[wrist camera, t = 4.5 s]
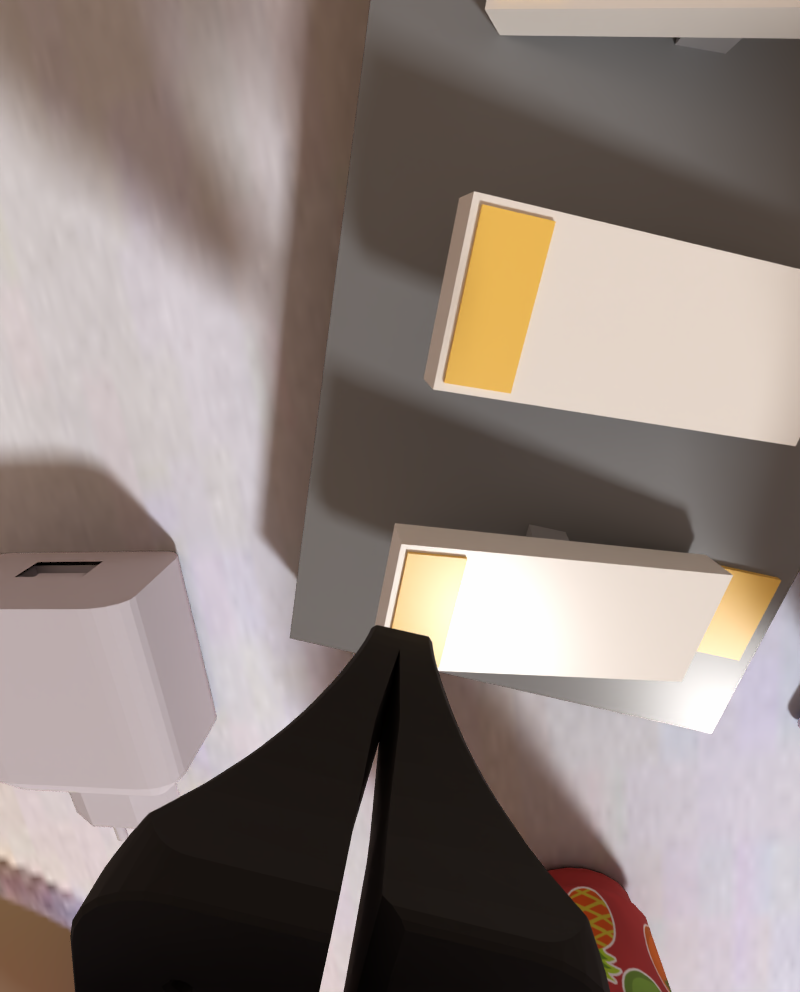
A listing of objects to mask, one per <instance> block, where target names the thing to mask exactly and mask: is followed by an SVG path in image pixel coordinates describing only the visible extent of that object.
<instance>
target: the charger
mask: <svg viewBox="0 0 800 992" xmlns="http://www.w3.org/2000/svg"><path fill="white" fill-rule="evenodd" d="M84 561H103V562H101V563H100V564H99V565H54V566H33V565H34V564H36V563H37V562H84ZM31 566H33V567H32V568H30V569H29V570H27V571H26V572H24V573H22V572H23V571H25V570H26V569H28V568H29V567H31ZM20 573H22V574H21V575H19V576H18V577H15V576H17V575H18V574H20ZM216 718H217V715H216V711H215V707H214V703H213V699H212V695H211V691H210V687H209V682H208V678H207V674H206V670H205V666H204V662H203V658H202V654H201V649H200V645H199V641H198V637H197V633H196V629H195V625H194V621H193V617H192V612H191V608H190V604H189V600H188V596H187V592H186V588H185V584H184V579H183V575H182V571H181V567H180V563H179V559H178V555H177V554H176V553H174V552H171V551H132V552H49V553H5V554H0V782H2V783H5V784H8V785H11V786H14V787H17V788H20V789H23V790H35V791H55V792H69V793H70V795H71V798H72V801H73V803H74V806H75V808H76V811H77V813H79V814H80V815H81V816H82V817H83V818H84V819H85V820H87V821H88V822H89V823H90V824H91V825H92V826H98V827H113V828H114V830H115V833H116V836H117V839H118V840H119V841H124V840H125V839H126V838H127V837H128V833H127V830H126V828H132V829H135V828H136V827H137V826H138V825H139V824H140V822H141V821H142V820H143V819H144V818H145V817H146V816H147V815H148V813H150V812H152V811H154V810H156V809H158V808H160V807H162V806H164V805H166V804H167V803H169V802H171V801H173V800H175V799H177V798H179V797H180V794H179V790H178V787H177V783H176V782H178V781H179V780H180V779H181V778H182V777H183V776H184V775H185V773H186V772H187V770H188V768H189V766H190V765H191V763H192V761H193V760H194V758H195V756H196V754H197V753H198V751H199V749H200V747H201V746H202V744H203V742H204V740H205V739H206V737H207V735H208V734H209V732H210V730H211V728H212V727H213V725H214V723H215V721H216Z"/></svg>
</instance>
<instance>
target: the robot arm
mask: <svg viewBox="0 0 800 992" xmlns="http://www.w3.org/2000/svg"><path fill="white" fill-rule="evenodd" d="M798 726H799V728H800V718H799V720H798ZM378 743H379V748H378V758H377V769H376V779H375V790H374V800H373V811H372V822H371V833H370V842H369V850H368V858H367V865H366V870H365V876H364V881H363V887H362V893H361V898H360V904H359V909H358V915H357V921H356V926H355V932H354V937H353V943H352V948H351V954H350V959H349V965H348V970H347V976H346V981H345V987H344V992H610V988H609V984H608V980H607V975H606V972H605V969H604V965H603V962H602V959H601V956H600V953H599V949H598V946H597V943H596V940H595V937H594V934H593V931H592V928H591V925H590V922H589V919H588V918H587V916H586V915H585V914H584V913H583V911H582V910H581V909H580V908H579V907H578V906H577V905H576V903H575V902H574V901H573V900H572V899H571V898H570V897H569V895H568V894H567V893H566V892H565V891H564V890H563V888H562V887H561V886H560V885H559V884H558V883H557V882H556V880H555V879H554V878H553V877H552V876H551V875H550V873H549V872H548V871H547V870H546V869H545V868H544V866H543V865H542V864H541V863H540V861H539V860H538V859H537V857H536V856H535V855H534V853H533V852H532V851H531V849H530V848H529V847H528V846H527V844H526V843H525V841H524V840H523V838H522V837H521V836H520V834H519V833H518V831H517V830H516V828H515V827H514V825H513V824H512V822H511V821H510V819H509V818H508V816H507V815H506V813H505V812H504V810H503V809H502V807H501V806H500V804H499V803H498V801H497V800H496V798H495V796H494V795H493V793H492V791H491V790H490V788H489V786H488V784H487V783H486V781H485V779H484V778H483V776H482V774H481V772H480V770H479V768H478V767H477V765H476V763H475V761H474V759H473V757H472V755H471V753H470V751H469V749H468V747H467V745H466V743H465V741H464V738H463V736H462V734H461V732H460V729H459V727H458V725H457V722H456V720H455V718H454V715H453V713H452V710H451V707H450V705H449V702H448V699H447V696H446V693H445V691H444V688H443V685H442V682H441V678H440V675H439V671H438V668H437V664H436V660H435V656H434V651H433V644H432V641H431V639H430V638H429V636H425V635H420V634H416V633H411V632H407V631H402V630H398V629H393V628H389V627H384V626H380V625H376V626H374V627H372V628H371V630H370V632H369V634H368V636H367V637H366V639H365V641H364V642H363V644H362V645H361V647H360V648H359V650H358V651H357V652H356V654H355V655H354V657H353V658H352V659H351V661H350V662H349V663H348V664H347V665H346V667H345V668H344V669H343V670H342V671H341V673H340V674H339V675H338V676H337V678H336V679H335V680H334V681H333V682H332V683H331V684H330V685H329V686H328V687H327V688H326V689H325V690H324V691H323V693H322V694H321V695H320V696H319V697H318V698H317V699H316V700H315V701H314V702H313V703H312V704H311V705H310V706H309V707H308V708H307V709H306V710H304V711H303V712H302V713H301V714H300V715H299V716H298V717H297V718H296V719H294V720H293V721H292V722H291V723H290V724H289V725H288V726H286V727H285V728H284V729H283V730H282V731H280V732H279V733H278V734H276V735H275V736H274V737H273V738H271V739H270V740H269V741H267V742H266V743H265V744H264V745H262V746H261V747H260V748H258V749H257V750H255V751H254V752H253V753H251V754H250V755H248V756H247V757H246V758H244V759H243V760H241V761H239V762H238V763H236V764H235V765H233V766H232V767H230V768H228V769H227V770H225V771H224V772H222V773H221V774H219V775H218V776H216V777H214V778H213V779H211V780H210V781H208V782H206V783H205V784H203V785H201V786H199V787H198V788H196V789H194V790H192V791H190V792H188V793H186V794H184V795H183V796H181V797H179V798H177V799H175V800H173V801H171V802H169V803H167V804H166V805H164V806H162V807H160V808H158V809H156V810H154V811H152V812H150V813H148V815H147V816H146V817H145V818H144V819H143V820H142V821H141V822H140V824H139V825H138V826H137V827H136V828H135V829H134V831H133V832H132V833H131V834H130V835H129V837H128V838H127V839H126V840H125V842H124V843H123V844H122V846H121V847H120V848H119V849H118V851H117V852H116V853H115V854H114V856H113V857H112V858H111V860H110V861H109V863H108V864H107V865H106V867H105V868H104V870H103V871H102V873H101V875H100V876H99V878H98V879H97V881H96V883H95V884H94V886H93V888H92V889H91V891H90V893H89V894H88V896H87V897H86V899H85V901H84V902H83V904H82V906H81V907H80V909H79V911H78V912H77V914H76V916H75V917H74V919H73V920H72V928H71V949H72V961H73V973H74V983H75V992H319V990H320V985H321V980H322V976H323V971H324V967H325V962H326V958H327V953H328V948H329V944H330V939H331V934H332V929H333V925H334V920H335V915H336V910H337V905H338V900H339V895H340V891H341V886H342V881H343V876H344V871H345V866H346V861H347V856H348V851H349V846H350V841H351V836H352V831H353V828H354V824H355V821H356V817H357V814H358V811H359V807H360V804H361V801H362V797H363V794H364V790H365V787H366V784H367V780H368V777H369V774H370V770H371V767H372V763H373V760H374V757H375V753H376V750H377V747H378Z"/></svg>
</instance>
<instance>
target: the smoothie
mask: <svg viewBox="0 0 800 992" xmlns="http://www.w3.org/2000/svg"><path fill="white" fill-rule="evenodd" d="M548 872H549V873H550V875H551V876H552V877H553V878H554V879H555V880H556V882H557V883H558V884H559V885H560V886H561V887H562V888H563V890H564V891H565V892H566V893H567V894H568V895H569V897H570V898H571V899H572V900H573V901H574V902H575V903H576V905H577V906H578V907H579V908H580V909H581V910H582V911H583V913H584V914H585V915H586V916H587V918H588V919H589V922H590V925H591V928H592V931H593V934H594V937H595V940H596V943H597V946H598V949H599V953H600V956H601V959H602V962H603V965H604V969H605V972H606V975H607V980H608V984H609V988H610V992H671V989H670V986H669V983H668V981H667V978H666V975H665V972H664V969H663V966H662V963H661V960H660V958H659V955H658V952H657V949H656V946H655V943H654V940H653V938H652V935H651V931H650V928H649V926H648V923H647V920H646V917H645V916H644V915H643V914H642V912H641V911H640V910H639V909H638V908H637V907H636V906H635V905H634V904H633V903H631V901H630V899H629V896H628V894H627V892H626V891H625V890H624V889H623V888H622V887H621V886H620V885H619V883H618V882H616V881H615V880H613V879H611V878H609V877H608V876H606V875H604V874H602V873H598V872H595V871H592V870H588V869H581V868H561V869H554V870H549V871H548Z"/></svg>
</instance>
